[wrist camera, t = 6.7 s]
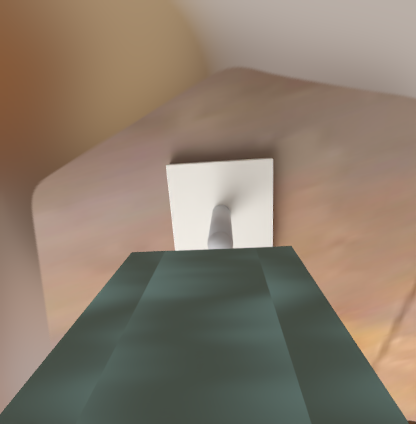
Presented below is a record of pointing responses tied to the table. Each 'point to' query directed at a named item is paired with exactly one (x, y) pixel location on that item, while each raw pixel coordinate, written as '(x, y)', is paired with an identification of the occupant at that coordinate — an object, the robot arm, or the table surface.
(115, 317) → the bead
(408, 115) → the table surface
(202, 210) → the white peg stand
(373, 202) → the table surface
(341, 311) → the table surface
